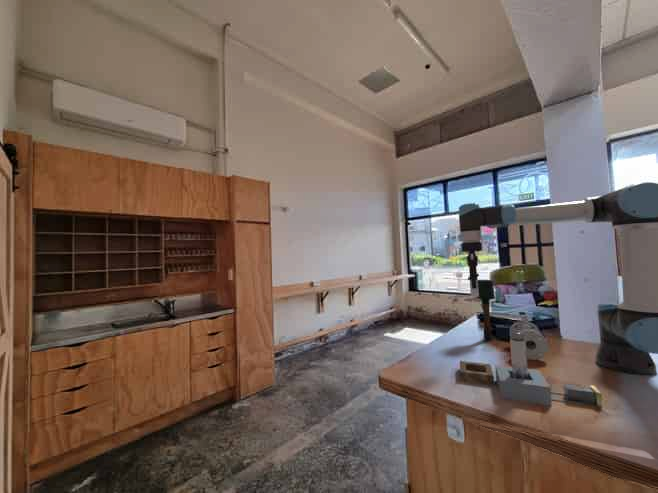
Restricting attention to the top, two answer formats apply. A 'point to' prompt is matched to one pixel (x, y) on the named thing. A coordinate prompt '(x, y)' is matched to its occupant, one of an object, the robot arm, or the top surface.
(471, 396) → the top surface
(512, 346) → the peg
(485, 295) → the potato masher grenade
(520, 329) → the valve
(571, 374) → the top surface
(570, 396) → the yellow capped grey block
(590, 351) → the top surface
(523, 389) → the socket block
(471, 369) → the brown square frame
